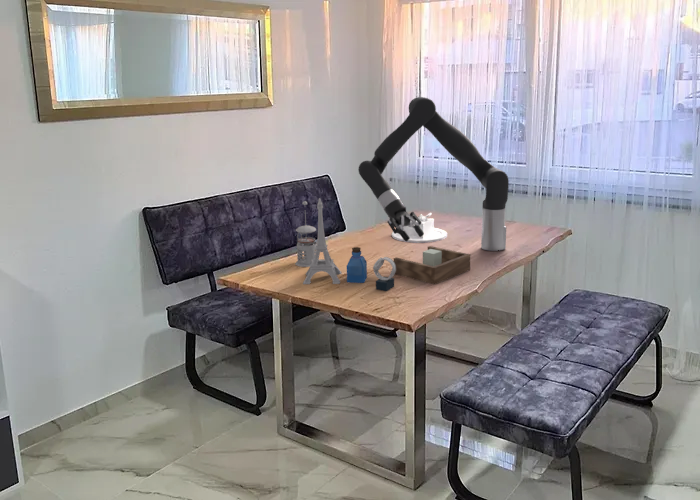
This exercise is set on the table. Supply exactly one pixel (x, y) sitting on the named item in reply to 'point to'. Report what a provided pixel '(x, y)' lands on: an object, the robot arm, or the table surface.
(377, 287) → the watch
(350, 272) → the perfume bottle
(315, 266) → the eiffel tower
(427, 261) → the sage block
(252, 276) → the table surface
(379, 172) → the robot arm
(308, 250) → the french press
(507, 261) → the table surface
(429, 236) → the dish
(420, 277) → the walnut u-shaped frame
